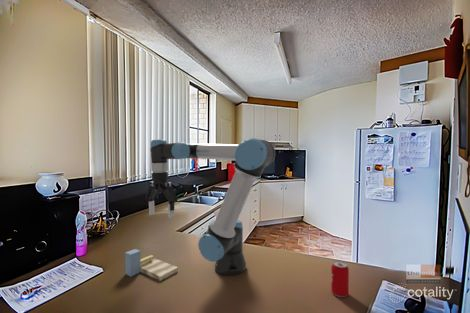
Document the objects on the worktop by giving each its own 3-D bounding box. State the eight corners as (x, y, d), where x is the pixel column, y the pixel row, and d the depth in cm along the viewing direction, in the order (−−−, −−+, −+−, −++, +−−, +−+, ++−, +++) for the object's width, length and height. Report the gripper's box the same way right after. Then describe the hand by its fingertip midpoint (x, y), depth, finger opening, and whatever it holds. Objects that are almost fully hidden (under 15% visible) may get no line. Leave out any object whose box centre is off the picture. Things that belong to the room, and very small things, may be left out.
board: (177, 271, 114) (177, 267, 114) (160, 280, 106) (160, 276, 106) (151, 260, 126) (151, 256, 126) (133, 268, 118) (133, 264, 118)
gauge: (154, 265, 121) (154, 245, 120) (130, 276, 110) (130, 254, 110) (149, 263, 123) (149, 243, 123) (125, 274, 112) (125, 252, 112)
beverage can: (343, 289, 100) (344, 260, 99) (351, 298, 94) (351, 267, 93) (328, 289, 100) (328, 260, 99) (335, 298, 93) (335, 267, 93)
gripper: (184, 171, 115) (185, 216, 115) (149, 171, 128) (150, 211, 128) (172, 172, 108) (173, 220, 109) (136, 172, 122) (138, 214, 122)
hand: (161, 215), depth 118 cm, fingers open, 13 cm apart
